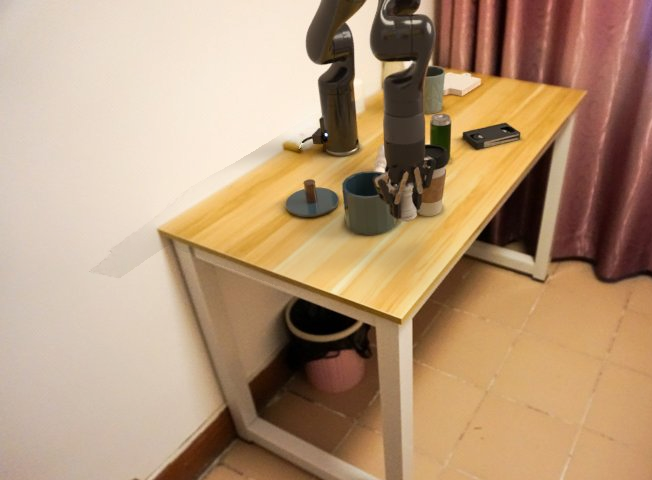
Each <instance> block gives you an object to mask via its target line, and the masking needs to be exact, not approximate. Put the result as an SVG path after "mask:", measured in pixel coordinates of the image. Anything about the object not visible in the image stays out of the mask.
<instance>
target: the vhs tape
mask: <svg viewBox="0 0 652 480" xmlns="http://www.w3.org/2000/svg"><path fill="white" fill-rule="evenodd" d="M462 140H463V141H464V142H466V143H467V144H468V145H470V146H471V147H472V148H474V149H475V150H482V149H486V148H491V147H495V146H498V145H502V144H506V143H507V144H508V143H511V142H516V141H519V140H521V132H520V131H519V130H518V129H516V128H515V127H513V126H512V125H510V124H509V123H507V122H501V123H497V124H493V125H489V126H485V127H480V128H476V129H472V130H471V129H470V130H467V131H462Z"/></svg>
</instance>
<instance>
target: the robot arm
mask: <svg viewBox="0 0 652 480" xmlns="http://www.w3.org/2000/svg"><path fill="white" fill-rule="evenodd" d="M367 1H368V0H320V2H319V5H318V8H317V10H316V12H315V14H314V16H313V18H312V20H311V22H310V24H309V26H308V28H307V31H306V35H305V41H304V42H305V43H304V44H305V51H306V54H307V57H308V59H309V60H310V61H311V62H312V63H313V64H315V65H318V66H325V65H326V66H327V65H330V66H329V67H328V68H327V69H326V70H325V71H324V72H323V73H322V74H321V75H319V76H318V79H317V88H318V96H319V103H320V110H321V111H320V112H321V113H320V114H321V117H320V118H319V119H318V120H319V128H317V129H316V130H315V131H314V132H313V133H312V134H311V135H310V136H308V137H305V138H304V139H303V140H302V141H301V142H302V143H306V142H308V141H310V140H312V145H317V146H322V152H323V153H324V152H325V153H327V154H329V155H331V156H335V157H346V156H350V155H353V154H355V153H357V152H358V151H359V149H360V139H359V130H358V129H359V128H358V120H357V119H358V118H357V107H356V95H355V84H354V83H355V78H356V65H355V63H356V62H355V61H356V60H355V42H354V37H353V32H352V30H351V28H350V26H349V24H347V22H348V21H349V20H350V19H351V18H352V17H353V16H355V14H356V13H358V12H359V11H360V10H361V8H363V6H364V5H365V4H366V2H367ZM421 2H422V0H378V1H377V7H376V11H375V14H374V16H373V21H372V24H371V26H370V27H371V28H370V32H369V49H370V51H371V54H372V55H373V56H374V58H375V59H376V60H378V61H379V62H382V63H399V62H400V63H401V62H402V63H403V62H404V63H405V62H411V63H410V64H409V66H408V67H407V68H405V69H403V70H400V71H396V72H393V73H390V74H388V75H386V77H385V78H384V79H383V83H382V94H383V95H382V97H383V119H382V129H383V131H382V132H383V143H384V155H385V159H386V167H385V172H384V173H383V174H381V175H380V176H379V177H378V176H377V175H375V176H374V177H373V179H372V180H373V182H374V185H375V188H376V190H377V193H378V195H379V198H380V199H381V200H382V201H384V202H385V203H386V204H388V205H389V210H390V215H392V216H393V217H394V218H396V219H397V220H398V219H400V218H401V204H400V198H401V194H402V193H403V192H404V188H405V185H407V184H408V183H411V182H412V183H413V185H414V187H413V188H412V192H413V194H412V201H413V204H414V206H415V207H416V209H417V210H419V209H420V206H421V204H422V193H423V190H424V189H425V188H429V187H430V184H431V180H432V176H433V172H434V169H435V165H436V160H435V159H433V158H431V157H429V156H427V155H426V156H425V145H426V116H425V115H426V114H424V85H425V78H426V73H427V69H428V66H430V61H431V58H432V55H433V52H434V49H435V44H436V39H437V31H436V27H435V23H434V22H433V20H432V19H431V17H430V16H428V15H427V14H423V13H416V12H417V11H418V10H419V8H420V7H421ZM297 150H298V151H301V150H302V147H301V148H300V149H298V148H297ZM425 175H426V180H424V179H425ZM388 178H389V183H388ZM397 185H398V186H397ZM387 186H388V188H389V190H388V188H387ZM394 193H395V196H394Z"/></svg>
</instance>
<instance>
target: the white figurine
mask: <svg viewBox="0 0 652 480" xmlns="http://www.w3.org/2000/svg"><path fill="white" fill-rule="evenodd" d="M385 167H386V159H385V155H384V142H382V143H381V145H380V146H379V147H378V148H377V156H376V158H375V160H374V162H373V170H372V171H376V172H383V173H384V172H385Z"/></svg>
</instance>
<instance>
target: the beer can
mask: <svg viewBox="0 0 652 480" xmlns="http://www.w3.org/2000/svg"><path fill="white" fill-rule="evenodd" d="M429 144H431V145H439V146H443V147H445V148H446V150H447V156H448V163H449V162H450V160H451V145H452V119H451V116H450V115H449V114H447V113H434V114H433V115H431V116H430V121H429Z"/></svg>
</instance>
